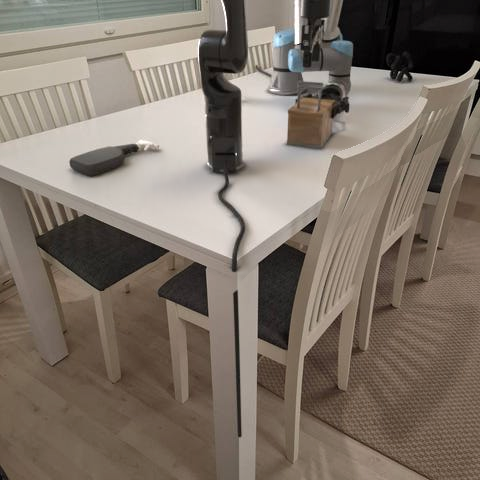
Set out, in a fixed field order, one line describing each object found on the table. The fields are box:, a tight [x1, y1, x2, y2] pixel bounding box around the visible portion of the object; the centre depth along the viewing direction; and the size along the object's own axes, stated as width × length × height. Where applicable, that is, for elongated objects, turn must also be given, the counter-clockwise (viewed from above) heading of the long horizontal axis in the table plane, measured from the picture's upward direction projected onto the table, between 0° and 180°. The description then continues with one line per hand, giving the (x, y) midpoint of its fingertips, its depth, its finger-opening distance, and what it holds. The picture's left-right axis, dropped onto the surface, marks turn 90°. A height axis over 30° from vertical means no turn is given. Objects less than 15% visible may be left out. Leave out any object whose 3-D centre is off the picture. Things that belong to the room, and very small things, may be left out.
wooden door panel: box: [287, 80, 335, 117], centre depth 129 cm, size 15×10×8 cm
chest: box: [286, 104, 335, 150], centre depth 134 cm, size 14×10×9 cm
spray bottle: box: [68, 139, 160, 177], centre depth 124 cm, size 3×11×24 cm
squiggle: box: [385, 51, 414, 83], centre depth 198 cm, size 11×10×15 cm
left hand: (311, 64), depth 122 cm, fingers open, 8 cm apart
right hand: (315, 112), depth 136 cm, fingers closed on chest, 10 cm apart
